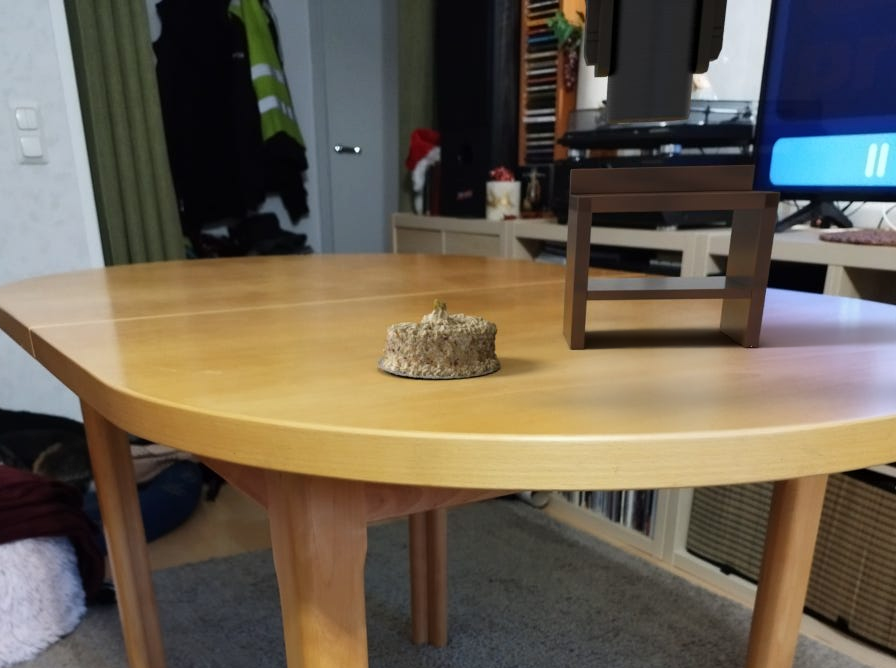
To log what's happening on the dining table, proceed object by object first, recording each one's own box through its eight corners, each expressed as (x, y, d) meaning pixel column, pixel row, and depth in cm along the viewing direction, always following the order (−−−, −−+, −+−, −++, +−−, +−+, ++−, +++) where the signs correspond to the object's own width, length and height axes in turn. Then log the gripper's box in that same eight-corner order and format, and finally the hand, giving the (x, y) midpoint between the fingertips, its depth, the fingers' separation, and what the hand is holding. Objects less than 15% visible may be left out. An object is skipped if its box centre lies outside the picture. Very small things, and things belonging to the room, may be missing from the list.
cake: (515, 366, 77) (522, 298, 74) (476, 392, 68) (483, 316, 66) (405, 350, 80) (408, 284, 77) (355, 373, 71) (357, 301, 69)
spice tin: (682, 121, 56) (694, -19, 53) (698, 117, 52) (713, -36, 49) (599, 124, 57) (606, -14, 53) (608, 120, 52) (617, -31, 49)
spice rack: (731, 330, 88) (752, 165, 82) (758, 347, 79) (784, 164, 73) (562, 331, 89) (570, 169, 83) (570, 349, 80) (579, 168, 74)
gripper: (537, -357, 43) (527, 73, 50) (858, -381, 41) (797, 63, 49) (531, -286, 49) (523, 85, 57) (807, -305, 48) (761, 76, 56)
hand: (650, 72), depth 53 cm, fingers closed on spice tin, 5 cm apart
